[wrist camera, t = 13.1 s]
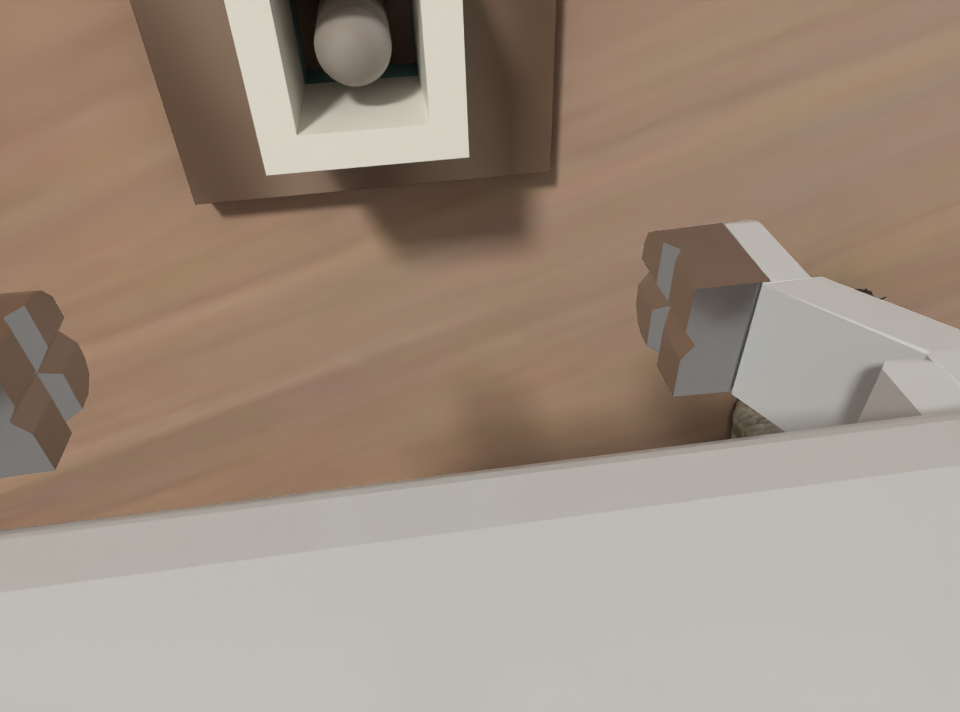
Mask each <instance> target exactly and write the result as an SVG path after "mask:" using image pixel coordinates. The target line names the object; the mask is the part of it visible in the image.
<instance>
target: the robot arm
mask: <svg viewBox="0 0 960 712" xmlns="http://www.w3.org/2000/svg"><path fill="white" fill-rule="evenodd" d="M642 260H643V261H644V263H645V265H646V266H647V268H648V270H649V273H648V274H647V275H646V276H645V278H644V279H643V280H642V281H641V282H640V283H639V285H638V292H637V302H636V307H637V319H638V325H639V328H640V332H641V335H642V337H643V339H644V341H645V343H646V345H647V346H648V347H650V348H651V349H653V350H655V351H657V352H658V353H659V357H658V363H657V367H658V369H659V371H660V373H661V374H662V376H663V378H664V380H665V382H666V384H667V386H668V388H669V390H670V392H671V393H672V395H673V397H676V396H686V395H697V394H708V393H719V392H730V391H732V393H731V394H732V395H734V396H735V397H737V398H738V399H739V400H741V401H742V402H744V403H745V404H747V405H748V406H749V407H751V408H752V409H754V410H755V411H757V412H758V413H759V414H761V415H762V416H764V417H765V418H766V419H768V420H769V421H771V422H772V423H774V424H775V425H776V426H778V427H779V428H781V429H782V430H784V431H785V432H783V433H775V434H767V435H759V436H751V437H743V438H735V439H727V440H719V441H711V442H703V443H695V444H687V445H679V446H672V447H664V448H656V449H648V450H640V451H632V452H624V453H616V454H608V455H600V456H592V457H584V458H576V459H568V460H560V461H552V462H544V463H536V464H528V465H520V466H512V467H504V468H496V469H488V470H480V471H472V472H464V473H456V474H448V475H440V476H432V477H424V478H416V479H408V480H400V481H392V482H384V483H376V484H368V485H360V486H352V487H344V488H336V489H328V490H320V491H312V492H304V493H296V494H288V495H280V496H272V497H264V498H256V499H248V500H240V501H232V502H224V503H216V504H208V505H200V506H192V507H184V508H176V509H168V510H160V511H152V512H144V513H136V514H128V515H120V516H112V517H104V518H96V519H88V520H80V521H72V522H64V523H56V524H48V525H40V526H32V527H24V528H16V529H8V530H0V712H960V330H959V329H957V328H954V327H952V326H949V325H946V324H944V323H941V322H938V321H936V320H933V319H931V318H928V317H925V316H923V315H920V314H918V313H915V312H912V311H910V310H907V309H905V308H902V307H899V306H897V305H894V304H892V303H889V302H886V301H884V300H881V299H879V298H876V297H873V296H871V295H868V294H866V293H863V292H860V291H858V290H855V289H853V288H850V287H847V286H845V285H842V284H840V283H837V282H834V281H832V280H829V279H827V278H824V277H813V278H811V277H810V276H809V275H808V274H807V273H806V272H805V271H804V270H803V269H802V268H801V267H800V265H799V264H798V263H797V262H796V261H795V260H794V259H793V258H792V257H791V256H790V255H789V254H788V252H787V251H786V250H785V249H784V248H783V247H782V246H781V245H780V244H779V243H778V242H777V241H776V239H775V238H774V237H773V236H772V235H771V234H770V233H769V232H768V231H767V230H766V229H765V228H764V227H763V225H762V224H761V223H760V222H758V221H755V220H752V219H748V220H740V221H733V222H726V223H718V224H710V225H702V226H694V227H686V228H678V229H670V230H661V231H654V232H649V233H648V235H647V238H646V240H645V243H644V249H643V255H642ZM63 319H64V316H63V314H62V312H61V311H60V309H59V307H58V305H57V304H56V302H55V300H54V298H53V297H52V296H50V295H49V294H47V293H45V292H43V291H28V292H15V293H3V294H0V478H4V477H11V476H18V475H25V474H32V473H39V472H46V471H53V470H56V468H57V465H58V463H59V461H60V459H61V456H62V454H63V452H64V450H65V447H66V445H67V443H68V441H69V438H70V436H71V434H72V432H71V431H70V429H69V427H68V425H67V424H66V421H68V420H69V419H70V418H72V417H73V416H74V415H75V414H77V413H78V412H79V411H81V410H82V409H83V406H84V404H85V401H86V399H87V396H88V393H89V371H88V367H87V364H86V360H85V357H84V355H83V353H82V351H81V349H80V347H79V345H78V343H77V342H75V341H73V340H72V339H70V338H69V337H67V336H66V335H64V334H62V333H61V332H59V330H60V327H61V324H62V322H63Z"/></svg>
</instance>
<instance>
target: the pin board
mask: <svg viewBox="0 0 960 712" xmlns="http://www.w3.org/2000/svg"><path fill="white" fill-rule="evenodd" d="M130 3H131V6H132V9H133V12H134V15H135V18H136V21H137V24H138V27H139V31H140V34H141V37H142V40H143V43H144V46H145V49H146V52H147V55H148V59H149V62H150V65H151V68H152V71H153V74H154V77H155V80H156V84H157V87H158V90H159V93H160V96H161V99H162V102H163V105H164V108H165V112H166V115H167V118H168V121H169V124H170V127H171V130H172V133H173V137H174V140H175V143H176V146H177V149H178V152H179V155H180V158H181V161H182V165H183V168H184V171H185V174H186V177H187V180H188V183H189V186H190V189H191V193H192V196H193V199H194V202H195V205H196V204H207V203H218V202H228V201H239V200H250V199H261V198H272V197H282V196H293V195H304V194H315V193H326V192H336V191H347V190H358V189H369V188H380V187H391V186H401V185H412V184H423V183H434V182H445V181H455V180H466V179H477V178H488V177H499V176H509V175H520V174H531V173H542V172H550V164H551V136H552V108H553V81H554V53H555V25H556V0H463V24H464V47H465V70H466V94H467V117H468V141H469V157H467V158H456V159H445V160H434V161H423V162H412V163H400V164H389V165H378V166H367V167H356V168H345V169H334V170H322V171H311V172H300V173H289V174H278V175H267V176H266V172H265V168H264V164H263V160H262V156H261V151H260V147H259V143H258V139H257V135H256V131H255V127H254V123H253V118H252V114H251V110H250V106H249V102H248V98H247V94H246V90H245V85H244V81H243V77H242V73H241V69H240V65H239V61H238V57H237V52H236V48H235V44H234V40H233V36H232V32H231V28H230V24H229V19H228V15H227V11H226V7H225V3H224V0H130ZM294 3H295V8H296V14H297V19H298V24H299V30H300V35H301V41H302V46H303V52H304V57H305V63H306V68H307V70H319V69H323V70H324V71H325V72H326V73H327V74H328V75H329V76H330V77H331V78H333V79H334V80H336V81H337V82H339V83H342V84H344V85H348V86H363V85H367V84H369V83H372V82H374V81H375V80H377V79H378V78H379V77H380V76H381V75H382V74H383V73H384V71H385V70H386V68H387V66H388V64H398V63H411V62H415V56H414V45H413V33H412V21H411V10H410V0H294Z"/></svg>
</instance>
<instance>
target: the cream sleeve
mask: <svg viewBox="0 0 960 712" xmlns="http://www.w3.org/2000/svg"><path fill="white" fill-rule="evenodd" d="M224 3H225V7H226V11H227V15H228V19H229V24H230V28H231V32H232V36H233V40H234V44H235V48H236V52H237V57H238V61H239V65H240V69H241V73H242V77H243V81H244V85H245V90H246V94H247V98H248V102H249V106H250V110H251V114H252V118H253V123H254V127H255V131H256V135H257V139H258V143H259V147H260V151H261V156H262V160H263V164H264V168H265V172H266V176H267V175H278V174H289V173H300V172H311V171H322V170H334V169H345V168H356V167H367V166H378V165H389V164H400V163H412V162H423V161H434V160H445V159H456V158H467V157H469V141H468V117H467V94H466V70H465V47H464V24H463V0H410V10H411V21H412V33H413V45H414V56H415V62H411V63H398V64H388V66H387V68H386V70H385V71H384V73H383V74H382V75H381V76H380V77H379V78H378V79H377V80H375V81H374V82H372V83H369V84H367V85H363V86H348V85H344V84H342V83H339V82H337V81H336V80H334V79H333V78H331V77H330V76H329V75H328V74H327V73H326V72H325V71H324V70H323V69H319V70H307V68H306V63H305V57H304V52H303V46H302V41H301V35H300V30H299V24H298V19H297V14H296V8H295V3H294V0H224Z"/></svg>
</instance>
